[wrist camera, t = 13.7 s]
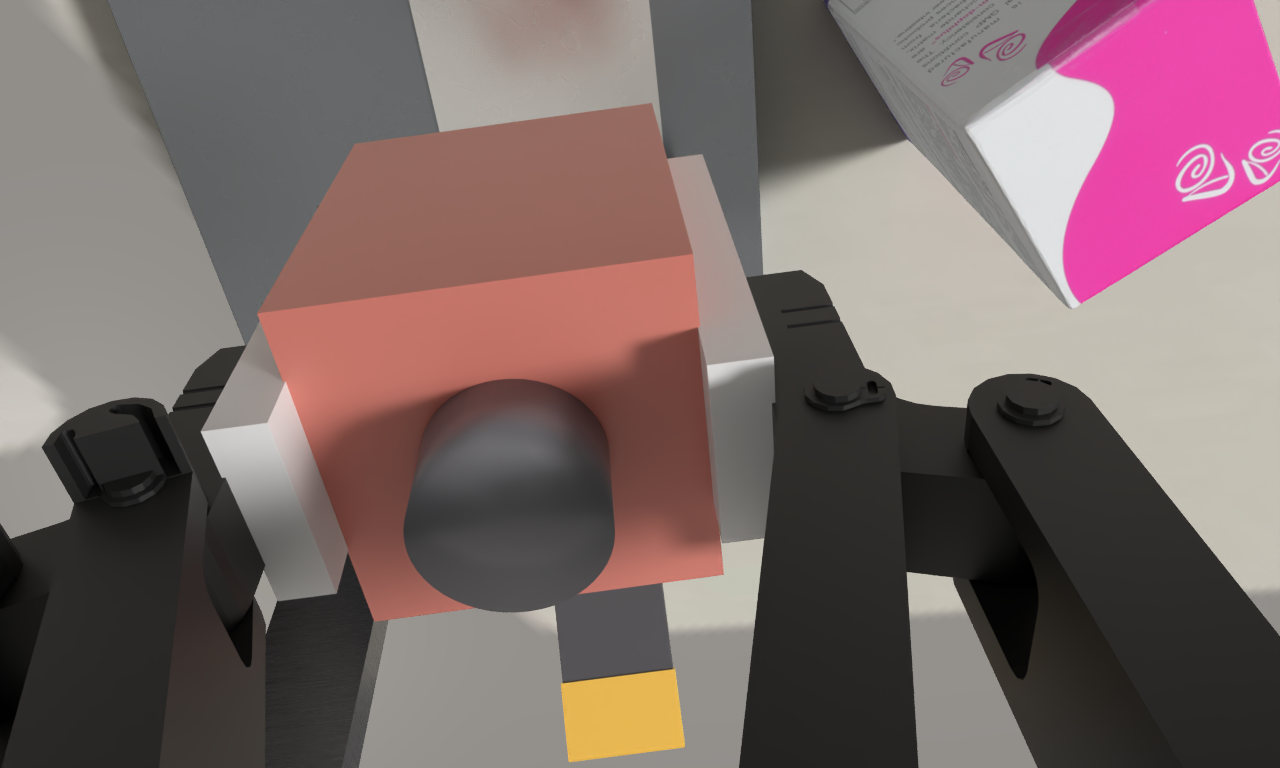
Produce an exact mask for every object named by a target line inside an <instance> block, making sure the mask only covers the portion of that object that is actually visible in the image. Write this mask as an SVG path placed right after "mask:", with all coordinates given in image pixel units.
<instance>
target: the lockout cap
mask: <svg viewBox="0 0 1280 768" xmlns="http://www.w3.org/2000/svg"><path fill="white" fill-rule="evenodd" d="M257 315H258V317H259V320H260V323H261V325H262V328H263V330H264V333H265V336H266V338H267V341H268V344H269V346H270V349H271V351H272V354H273V357H274V359H275V362H276V365H277V367H278V370H279V372H280V375H281V378H282V380H283V382H285V381H286V384H287V386H288V389H289V392H290V394H291V397H292V400H293V403H294V405H295V408H296V411H297V413H298V416H299V419H300V421H301V424H302V427H303V429H304V432H305V435H306V437H307V440H308V443H309V445H310V448H311V451H312V454H313V456H314V459H315V462H316V464H317V467H318V470H319V472H320V475H321V478H322V480H323V483H324V486H325V488H326V491H327V494H328V496H329V499H330V502H331V505H332V507H333V510H334V513H335V515H336V518H337V521H338V523H339V526H340V529H341V531H342V534H343V537H344V539H345V542H346V545H347V548H348V554H349V556H350V559H351V562H352V564H353V567H354V569H355V572H356V575H357V577H358V580H359V583H360V585H361V588H362V590H363V593H364V596H365V598H366V601H367V604H368V606H369V609H370V611H371V614H372V617H373V619H374V622H375V621H383V620H390V619H398V618H405V617H413V616H420V615H427V614H435V613H442V612H450V611H457V610H465V609H472V608H478V609H483V610H489V611H496V612H525V611H533V610H538V609H543V608H547V607H550V606H554V605H556V604H559V603H561V602H564V601H566V600H568V599H570V598H572V597H574V596H575V595H577V594H584V593H591V592H598V591H606V590H613V589H621V588H628V587H636V586H643V585H650V584H658V583H665V582H673V581H680V580H688V579H695V578H703V577H710V576H717V575H724V573H723V563H722V552H721V542H720V531H719V526H718V521H717V516H716V511H715V506H714V500H713V489H712V478H711V467H710V456H709V445H708V434H707V423H706V412H705V401H704V389H703V378H702V367H701V356H700V345H699V334H698V327H700V321H699V311H698V300H697V290H696V279H695V269H694V258H693V252H692V248H691V244H690V241H689V237H688V233H687V230H686V226H685V223H684V219H683V215H682V212H681V208H680V204H679V201H678V197H677V193H676V190H675V186H674V182H673V179H672V175H671V171H670V168H669V164H668V160H667V157H666V153H665V149H664V146H663V142H662V138H661V135H660V131H659V127H658V124H657V120H656V116H655V113H654V109H653V105H652V103H648V104H641V105H634V106H626V107H619V108H612V109H605V110H597V111H590V112H583V113H575V114H568V115H561V116H554V117H546V118H539V119H532V120H525V121H517V122H510V123H503V124H495V125H488V126H481V127H474V128H466V129H459V130H452V131H445V132H437V133H430V134H423V135H415V136H408V137H401V138H394V139H386V140H379V141H372V142H365V143H357V144H354V146H353V148H352V150H351V151H350V153H349V155H348V156H347V158H346V160H345V162H344V163H343V165H342V167H341V169H340V170H339V172H338V174H337V176H336V177H335V179H334V181H333V183H332V184H331V186H330V188H329V189H328V191H327V193H326V195H325V196H324V198H323V200H322V202H321V203H320V205H319V207H318V209H317V210H316V212H315V214H314V216H313V217H312V219H311V221H310V222H309V224H308V226H307V228H306V229H305V231H304V233H303V235H302V236H301V238H300V240H299V242H298V243H297V245H296V247H295V249H294V250H293V252H292V254H291V255H290V257H289V259H288V261H287V262H286V264H285V266H284V268H283V269H282V271H281V273H280V275H279V276H278V278H277V280H276V282H275V283H274V285H273V287H272V288H271V290H270V292H269V294H268V295H267V297H266V299H265V301H264V302H263V304H262V306H261V308H260V309H259V311H258V313H257Z"/></svg>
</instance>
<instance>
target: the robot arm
mask: <svg viewBox="0 0 1280 768" xmlns="http://www.w3.org/2000/svg"><path fill="white" fill-rule="evenodd" d="M667 160H668V164H669V168H670V171H671V175H672V179H673V182H674V186H675V190H676V193H677V197H678V201H679V204H680V208H681V212H682V215H683V219H684V223H685V226H686V230H687V233H688V237H689V241H690V244H691V248H692V252H693V258H694V269H695V279H696V290H697V300H698V311H699V321H700V327H698V334H699V345H700V356H701V367H702V378H703V389H704V401H705V412H706V423H707V434H708V445H709V456H710V467H711V478H712V489H713V500H714V506H715V511H716V516H717V521H718V526H719V531H720V536H721V540H722V543H730V542H737V541H745V540H753V539H760V538H764V547H763V556H762V565H761V574H760V583H759V592H758V601H757V610H756V619H755V628H754V639H753V646H752V655H751V664H750V665H751V666H750V674H749V683H748V692H747V701H746V710H745V719H744V729H743V738H742V746H741V755H740V765H739V768H918V755H917V737H916V720H915V705H914V687H913V671H912V655H911V640H910V621H909V605H908V588H907V572H912V573H921V574H929V575H938V576H946V577H953V581H954V585H955V587H956V589H957V591H958V594H959V596H960V598H961V600H962V602H963V605H964V607H965V609H966V611H967V613H968V616H969V618H970V620H971V622H972V624H973V627H974V629H975V631H976V633H977V635H978V638H979V640H980V642H981V644H982V646H983V649H984V651H985V653H986V655H987V657H988V660H989V662H990V664H991V666H992V668H993V670H994V673H995V675H996V677H997V679H998V682H999V684H1000V686H1001V688H1002V690H1003V692H1004V695H1005V697H1006V699H1007V701H1008V703H1009V706H1010V708H1011V710H1012V712H1013V714H1014V716H1015V719H1016V721H1017V723H1018V725H1019V728H1020V730H1021V732H1022V734H1023V736H1024V739H1025V741H1026V743H1027V745H1028V747H1029V750H1030V752H1031V754H1032V756H1033V758H1034V761H1035V763H1036V765H1037V767H1038V768H1280V636H1279V635H1278V633H1277V632H1276V631H1275V630H1274V628H1273V627H1272V626H1271V624H1270V623H1269V622H1268V621H1267V620H1266V618H1265V617H1264V616H1263V614H1262V613H1261V612H1260V611H1259V610H1258V608H1257V607H1256V606H1255V604H1254V603H1253V602H1252V601H1251V600H1250V598H1249V597H1248V596H1247V594H1246V593H1245V592H1244V591H1243V589H1242V588H1241V587H1240V586H1239V584H1238V583H1237V582H1236V581H1235V579H1234V578H1233V577H1232V576H1231V574H1230V573H1229V572H1228V571H1227V569H1226V568H1225V567H1224V566H1223V564H1222V563H1221V562H1220V561H1219V559H1218V558H1217V557H1216V556H1215V554H1214V553H1213V552H1212V551H1211V549H1210V548H1209V547H1208V546H1207V544H1206V543H1205V542H1204V541H1203V539H1202V538H1201V537H1200V536H1199V534H1198V533H1197V532H1196V531H1195V529H1194V528H1193V527H1192V526H1191V524H1190V523H1189V522H1188V521H1187V519H1186V518H1185V517H1184V516H1183V514H1182V513H1181V512H1180V511H1179V509H1178V508H1177V507H1176V505H1175V504H1174V503H1173V502H1172V500H1171V499H1170V498H1169V497H1168V495H1167V494H1166V493H1165V492H1164V490H1163V489H1162V488H1161V487H1160V485H1159V484H1158V483H1157V482H1156V480H1155V479H1154V478H1153V477H1152V475H1151V474H1150V473H1149V472H1148V470H1147V469H1146V468H1145V467H1144V465H1143V464H1142V463H1141V462H1140V460H1139V459H1138V458H1137V457H1136V455H1135V454H1134V453H1133V452H1132V450H1131V449H1130V448H1129V447H1128V445H1127V444H1126V443H1125V442H1124V440H1123V439H1122V438H1121V437H1120V435H1119V434H1118V433H1117V432H1116V430H1115V429H1114V428H1113V427H1112V425H1111V424H1110V423H1109V422H1108V420H1107V419H1106V418H1105V417H1104V415H1103V414H1102V413H1101V412H1100V410H1099V409H1098V408H1097V407H1096V405H1095V404H1094V403H1093V402H1092V400H1091V399H1090V398H1089V397H1087V396H1086V395H1085V394H1084V393H1083V392H1081V391H1080V390H1079V389H1078V388H1077V387H1075V386H1072V385H1070V384H1068V383H1065V382H1063V381H1061V380H1058V379H1056V378H1051V377H1047V376H1043V375H1042V376H1041V375H1036V374H1007V375H1003V376H999V377H995V378H991V379H988V380H986V381H985V382H983V383H981V384H980V385H978V386H977V387H975V388H974V389H973V391H972V393H971V395H970V397H969V399H968V404H967V408H957V407H942V406H931V405H924V404H916V403H912V402H909V401H906V400H902V399H899V398H897V397H896V395H895V392H894V390H893V387H892V385H891V383H890V382H889V381H887V380H886V379H885V378H884V377H882V376H881V375H880V374H879V373H877V372H874V371H871V370H868V369H866V368H864V366H863V363H862V361H861V359H860V357H859V355H858V353H857V351H856V349H855V347H854V345H853V343H852V341H851V339H850V337H849V335H848V333H847V331H846V329H845V327H844V325H843V323H842V322H840V317H839V315H838V313H837V311H836V309H835V307H833V303H832V301H831V299H830V297H829V295H828V293H827V291H826V289H825V287H824V285H823V284H822V283H820V282H819V281H817V280H816V279H814V278H813V277H811V276H810V275H808V274H807V273H805V272H804V271H802V270H798V271H791V272H783V273H775V274H768V275H760V276H752V277H746V276H745V274H744V271H743V268H742V265H741V262H740V259H739V257H738V254H737V251H736V248H735V245H734V242H733V240H732V237H731V234H730V231H729V228H728V225H727V223H726V220H725V217H724V214H723V211H722V208H721V206H720V203H719V200H718V197H717V194H716V191H715V188H714V186H713V183H712V180H711V177H710V174H709V171H708V169H707V166H706V163H705V160H704V157H703V154H700V155H692V156H684V157H677V158H669V159H667ZM42 449H43V450H44V452H45V454H46V455H47V457H48V459H49V461H50V463H51V464H52V466H53V468H54V469H55V471H56V473H57V474H58V476H59V478H60V480H61V481H62V483H63V485H64V486H65V488H66V490H67V492H68V494H69V495H70V497H71V499H72V501H73V502H74V507H73V510H72V514H71V517H70V519H69V520H66V521H64V522H61V523H58V524H55V525H52V526H49V527H46V528H43V529H40V530H37V531H34V532H30V533H27V534H24V535H21V536H18V537H15V538H12V539H10V538H9V536H8V535H7V533H6V532H5V530H4V528H3V527H2V526H1V524H0V768H265V652H266V630H265V629H266V624H265V621H264V618H263V615H262V612H261V610H260V608H259V605H258V604H257V601H256V599H255V597H254V594H255V592H256V589H257V586H258V584H259V581H260V578H261V575H262V573H263V570H264V571H265V574H266V576H267V578H268V580H269V582H270V584H271V587H272V589H273V591H274V593H275V595H276V598H277V600H278V601H284V600H291V599H299V598H307V597H314V596H322V595H330V594H337V590H338V586H339V583H340V579H341V575H342V572H343V568H344V564H345V560H346V557H347V553H348V548H347V545H346V542H345V539H344V537H343V534H342V531H341V529H340V526H339V523H338V521H337V518H336V515H335V513H334V510H333V507H332V505H331V502H330V499H329V496H328V494H327V491H326V488H325V486H324V483H323V480H322V478H321V475H320V472H319V470H318V467H317V464H316V462H315V459H314V456H313V454H312V451H311V448H310V445H309V443H308V440H307V437H306V435H305V432H304V429H303V427H302V424H301V421H300V419H299V416H298V413H297V411H296V408H295V405H294V403H293V400H292V397H291V394H290V392H289V389H288V386H287V384H286V381H285V382H283V380H282V378H281V375H280V372H279V370H278V367H277V365H276V362H275V359H274V357H273V354H272V351H271V349H270V346H269V344H268V341H267V338H266V336H265V333H264V330H263V328H262V325H261V323H260V322H259V324H258V326H257V327H256V329H255V331H254V333H253V335H252V337H251V339H250V341H249V342H248V344H247V345H245V346H239V347H231V348H223V349H220V350H219V351H217V352H216V353H215V354H214V355H212V356H211V357H210V358H209V359H208V360H206V361H205V362H204V363H203V364H202V365H200V366H199V367H198V368H197V369H195V371H194V373H193V374H192V376H191V378H190V379H189V381H188V383H187V385H186V386H185V388H184V390H183V394H182V395H180V396H179V398H178V400H177V401H176V403H175V404H174V406H173V412H170V413H169V414H167V412H166V409H165V408H164V405H162V404H161V403H159V402H157V401H155V400H153V399H147V398H129V399H122V400H116V401H111V402H108V403H105V404H102V405H99V406H96V407H93V408H90V409H88V410H86V411H84V412H82V413H80V414H79V415H77V416H75V417H73V418H71V419H69V420H67V421H66V422H65V423H64V424H62V425H61V426H60V427H59V428H57V429H56V430H55V431H54V432H52V433H51V434H50V436H49V437H48V439H47V440H46V442H45V443H44V445H43V446H42Z"/></svg>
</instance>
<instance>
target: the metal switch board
mask: <svg viewBox="0 0 1280 768" xmlns="http://www.w3.org/2000/svg"><path fill="white" fill-rule="evenodd" d="M107 1H108V3H109V6H110V8H111V11H112V13H113V16H114V18H115V21H116V23H117V26H118V28H119V31H120V33H121V36H122V38H123V41H124V43H125V46H126V48H127V51H128V53H129V56H130V58H131V61H132V63H133V66H134V68H135V71H136V73H137V76H138V78H139V81H140V83H141V86H142V88H143V91H144V93H145V96H146V98H147V101H148V103H149V106H150V108H151V111H152V113H153V115H154V118H155V120H156V123H157V125H158V128H159V130H160V133H161V135H162V138H163V140H164V143H165V145H166V148H167V150H168V153H169V155H170V158H171V160H172V163H173V165H174V168H175V170H176V173H177V175H178V178H179V180H180V183H181V185H182V188H183V190H184V193H185V195H186V198H187V200H188V203H189V205H190V208H191V210H192V213H193V215H194V218H195V220H196V223H197V225H198V228H199V230H200V233H201V235H202V238H203V240H204V243H205V245H206V248H207V250H208V253H209V255H210V258H211V260H212V262H213V265H214V267H215V270H216V272H217V275H218V278H219V280H220V283H221V285H222V287H223V290H224V292H225V295H226V297H227V300H228V302H229V305H230V308H231V310H232V312H233V315H234V317H235V320H236V322H237V325H238V327H239V330H240V332H241V335H242V337H243V340H244V342H245V345H247V344H248V342H249V341H250V339H251V337H252V335H253V333H254V331H255V329H256V327H257V326H258V324H259V322H260V320H259V317H258V315H257V313H258V311H259V309H260V308H261V306H262V304H263V302H264V301H265V299H266V297H267V295H268V294H269V292H270V290H271V288H272V287H273V285H274V283H275V282H276V280H277V278H278V276H279V275H280V273H281V271H282V269H283V268H284V266H285V264H286V262H287V261H288V259H289V257H290V255H291V254H292V252H293V250H294V249H295V247H296V245H297V243H298V242H299V240H300V238H301V236H302V235H303V233H304V231H305V229H306V228H307V226H308V224H309V222H310V221H311V219H312V217H313V216H314V214H315V212H316V210H317V209H318V207H319V205H320V203H321V202H322V200H323V198H324V196H325V195H326V193H327V191H328V189H329V188H330V186H331V184H332V183H333V181H334V179H335V177H336V176H337V174H338V172H339V170H340V169H341V167H342V165H343V163H344V162H345V160H346V158H347V156H348V155H349V153H350V151H351V150H352V148H353V146H354V144H357V143H365V142H372V141H379V140H386V139H394V138H401V137H408V136H415V135H423V134H430V133H437V132H445V131H452V130H459V129H466V128H474V127H481V126H488V125H495V124H503V123H510V122H517V121H525V120H532V119H539V118H546V117H554V116H561V115H568V114H575V113H583V112H590V111H597V110H605V109H612V108H619V107H626V106H634V105H641V104H648V103H652V105H653V109H654V113H655V116H656V120H657V124H658V127H659V131H660V135H661V138H662V142H663V146H664V149H665V153H666V157H667V159H669V158H677V157H684V156H692V155H700V154H703V157H704V160H705V163H706V166H707V169H708V171H709V174H710V177H711V180H712V183H713V186H714V188H715V191H716V194H717V197H718V200H719V203H720V206H721V208H722V211H723V214H724V217H725V220H726V223H727V225H728V228H729V231H730V234H731V237H732V240H733V242H734V245H735V248H736V251H737V254H738V257H739V259H740V262H741V265H742V268H743V271H744V274H745V276H746V277H752V276H760V275H763V262H762V239H761V216H760V193H759V170H758V147H757V124H756V102H755V79H754V56H753V33H752V10H751V0H107ZM387 624H388V620H383V621H375V622H374V619H373V617H372V614H371V611H370V609H369V606H368V604H367V601H366V598H365V596H364V593H363V590H362V588H361V585H360V583H359V580H358V577H357V575H356V572H355V569H354V567H353V564H352V562H351V559H350V556H349V554H348V553H347V557H346V560H345V564H344V568H343V572H342V575H341V579H340V583H339V586H338V590H337V594H330V595H322V596H314V597H307V598H299V599H291V600H284V601H277V603H276V607H275V610H274V612H273V615H272V618H271V621H270V624H269V627H268V630H267V633H266V652H265V768H359V763H360V758H361V753H362V748H363V743H364V738H365V733H366V728H367V723H368V718H369V713H370V708H371V703H372V698H373V693H374V688H375V684H376V679H377V673H378V668H379V664H380V659H381V654H382V649H383V644H384V639H385V634H386V629H387Z"/></svg>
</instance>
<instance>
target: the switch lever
mask: <svg viewBox="0 0 1280 768" xmlns="http://www.w3.org/2000/svg"><path fill="white" fill-rule="evenodd" d="M555 611H556V621H557V630H558V640H559V649H560V660H561V670H562V679H563V683H561V689H562V700H563V710H564V720H565V730H566V739H567V749H568V759H569V762H573V761H581V760H590V759H597V758H605V757H613V756H621V755H628V754H636V753H643V752H652V751H659V750H667V749H675V748H683V747H685V741H684V734H683V726H682V718H681V710H680V704H679V695H678V687H677V680H676V672H675V667H673V662H672V654H671V647H670V639H669V631H668V623H667V615H666V608H665V600H664V592H663V584H662V583H658V584H650V585H643V586H636V587H628V588H621V589H613V590H606V591H598V592H591V593H584V594H577V595H575V596H574V597H572V598H570V599H568V600H566V601H564V602H561V603H559V604H556V605H555Z"/></svg>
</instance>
